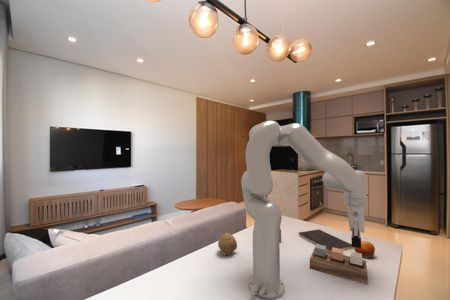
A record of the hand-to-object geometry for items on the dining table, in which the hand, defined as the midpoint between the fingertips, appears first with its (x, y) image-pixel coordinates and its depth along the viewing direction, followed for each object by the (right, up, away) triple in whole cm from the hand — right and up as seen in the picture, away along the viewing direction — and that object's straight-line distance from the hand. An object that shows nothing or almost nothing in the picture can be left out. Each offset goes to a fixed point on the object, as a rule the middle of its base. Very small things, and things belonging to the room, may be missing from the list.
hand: (356, 246), depth 81 cm
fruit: (+13, -11, +14) cm, 22 cm away
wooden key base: (-6, -11, +3) cm, 13 cm away
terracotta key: (-6, -6, +3) cm, 9 cm away
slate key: (-11, -6, +7) cm, 15 cm away
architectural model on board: (-28, -12, +27) cm, 41 cm away
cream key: (0, -6, 0) cm, 6 cm away
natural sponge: (-52, -12, +16) cm, 56 cm away
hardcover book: (+1, -12, +29) cm, 32 cm away
